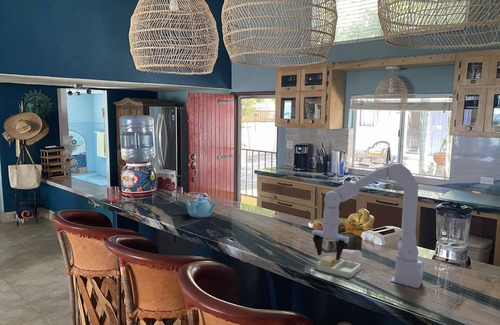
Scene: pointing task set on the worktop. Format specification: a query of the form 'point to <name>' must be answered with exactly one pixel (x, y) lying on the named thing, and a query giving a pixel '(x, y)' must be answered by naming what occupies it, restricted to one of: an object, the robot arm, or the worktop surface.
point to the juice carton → (353, 243)
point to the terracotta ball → (334, 260)
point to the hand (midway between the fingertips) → (328, 257)
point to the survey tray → (340, 268)
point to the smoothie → (352, 256)
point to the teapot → (200, 208)
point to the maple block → (327, 261)
